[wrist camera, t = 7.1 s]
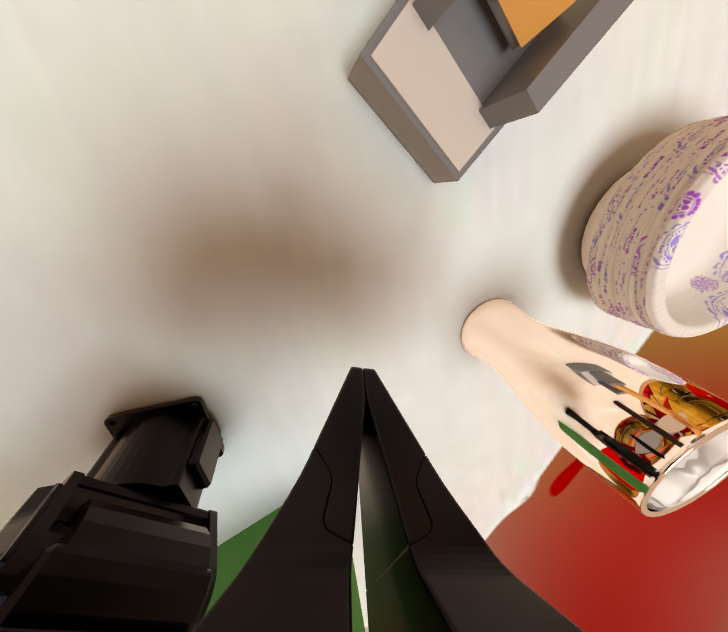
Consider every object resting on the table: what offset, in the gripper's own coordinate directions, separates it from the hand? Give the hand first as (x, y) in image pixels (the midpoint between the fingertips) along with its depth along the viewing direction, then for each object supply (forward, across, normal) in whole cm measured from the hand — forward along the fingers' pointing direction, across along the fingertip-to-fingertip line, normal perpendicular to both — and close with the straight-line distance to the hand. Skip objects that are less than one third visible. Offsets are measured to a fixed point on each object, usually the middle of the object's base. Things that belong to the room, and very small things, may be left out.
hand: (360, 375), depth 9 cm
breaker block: (+16, -4, -12) cm, 20 cm away
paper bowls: (+18, -24, -4) cm, 30 cm away
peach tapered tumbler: (+13, -14, +6) cm, 20 cm away
